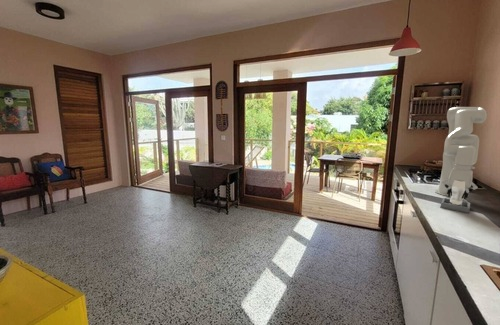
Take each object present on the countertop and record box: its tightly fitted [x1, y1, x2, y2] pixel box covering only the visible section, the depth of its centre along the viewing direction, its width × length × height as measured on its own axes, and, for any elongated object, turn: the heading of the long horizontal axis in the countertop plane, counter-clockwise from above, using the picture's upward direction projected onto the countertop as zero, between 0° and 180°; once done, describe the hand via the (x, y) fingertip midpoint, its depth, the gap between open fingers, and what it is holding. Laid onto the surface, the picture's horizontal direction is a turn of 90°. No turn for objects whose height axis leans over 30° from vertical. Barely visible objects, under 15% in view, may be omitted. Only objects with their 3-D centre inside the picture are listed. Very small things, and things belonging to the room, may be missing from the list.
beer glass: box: [449, 180, 466, 206], centre depth 138 cm, size 7×7×15 cm
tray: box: [439, 197, 471, 214], centre depth 139 cm, size 13×12×3 cm
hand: (456, 197), depth 139 cm, fingers closed on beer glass, 6 cm apart
